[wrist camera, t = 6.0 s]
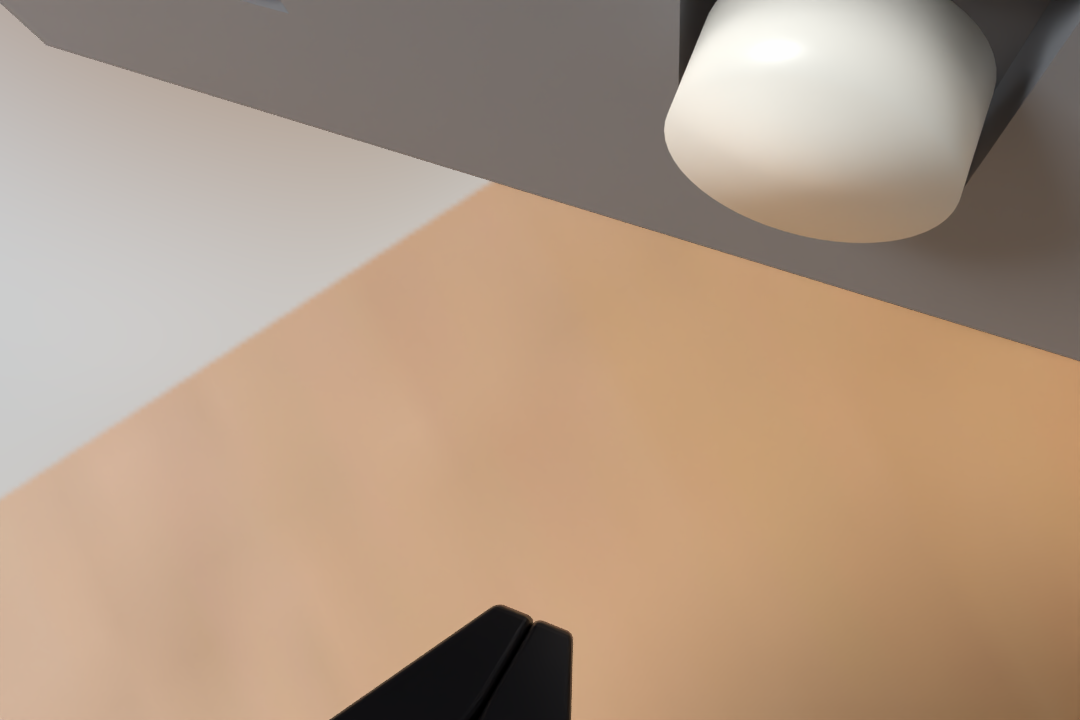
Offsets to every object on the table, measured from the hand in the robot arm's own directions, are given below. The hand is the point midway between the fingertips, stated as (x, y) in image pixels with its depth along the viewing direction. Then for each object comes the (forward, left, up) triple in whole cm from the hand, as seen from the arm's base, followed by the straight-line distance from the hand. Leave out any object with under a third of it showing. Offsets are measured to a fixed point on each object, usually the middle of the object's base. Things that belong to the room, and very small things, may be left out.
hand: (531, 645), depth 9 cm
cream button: (+1, -9, -5) cm, 10 cm away
